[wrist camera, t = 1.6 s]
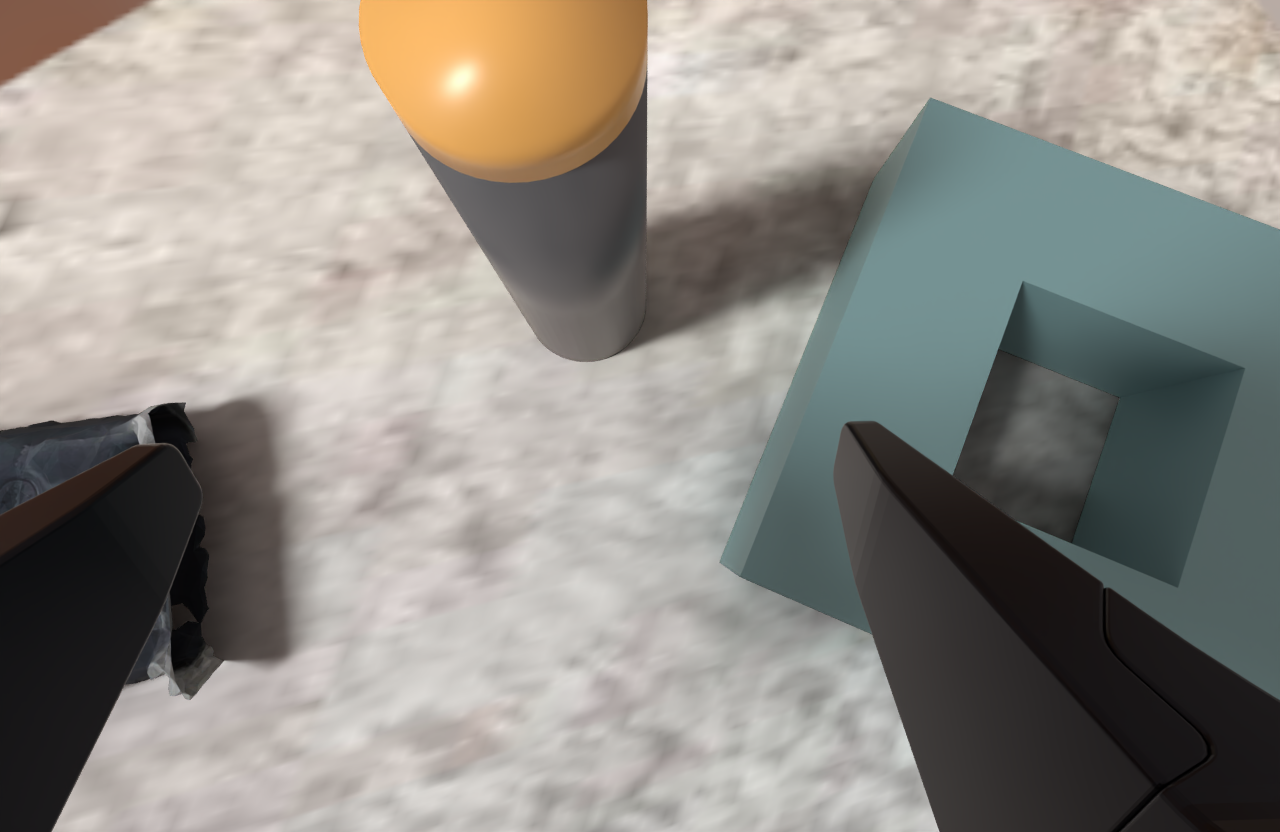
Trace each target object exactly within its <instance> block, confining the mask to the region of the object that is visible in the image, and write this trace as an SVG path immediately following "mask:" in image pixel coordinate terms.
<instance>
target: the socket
mask: <svg viewBox="0 0 1280 832" xmlns="http://www.w3.org/2000/svg"><path fill="white" fill-rule="evenodd" d="M998 349H1000V350H1002V351H1005V352H1007V353H1010V354H1012V355H1015V356H1017V357H1020V358H1022V359H1025V360H1027V361H1030V362H1032V363H1035V364H1037V365H1040V366H1042V367H1045V368H1047V369H1050V370H1052V371H1055V372H1057V373H1060V374H1062V375H1065V376H1067V377H1070V378H1072V379H1075V380H1077V381H1080V382H1082V383H1085V384H1087V385H1090V386H1092V387H1095V388H1097V389H1100V390H1102V391H1105V392H1107V393H1110V394H1112V395H1115V396H1117V397H1120V399H1119V402H1118V405H1117V408H1116V411H1115V414H1114V417H1113V420H1112V423H1111V426H1110V429H1109V432H1108V435H1107V438H1106V441H1105V444H1104V447H1103V450H1102V453H1101V456H1100V459H1099V462H1098V465H1097V468H1096V471H1095V474H1094V477H1093V480H1092V483H1091V486H1090V489H1089V492H1088V496H1087V499H1086V502H1085V505H1084V508H1083V511H1082V514H1081V517H1080V520H1079V523H1078V526H1077V529H1076V532H1075V535H1074V538H1073V541H1072V543H1069V542H1067V541H1064V540H1062V539H1060V538H1057V537H1055V536H1052V535H1050V534H1048V533H1045V532H1043V531H1040V530H1038V529H1036V528H1033V527H1031V526H1028V525H1026V524H1024V523H1021V522H1019V521H1017V522H1019V523H1020V524H1022V525H1023V526H1024V527H1026V528H1027V529H1029V530H1030V531H1031V532H1033V533H1034V534H1036V535H1037V536H1038V537H1040V538H1041V539H1043V540H1044V541H1045V542H1047V543H1048V544H1050V545H1051V546H1052V547H1054V548H1055V549H1057V550H1058V551H1059V552H1061V553H1062V554H1064V555H1065V556H1066V557H1068V558H1069V559H1071V560H1072V561H1073V562H1075V563H1076V564H1078V565H1079V566H1080V567H1082V568H1083V569H1085V570H1086V571H1088V572H1089V573H1090V574H1092V575H1093V576H1095V577H1096V578H1097V579H1099V580H1100V581H1101V582H1102V583H1103V585H1104V588H1106V587H1110V588H1112V589H1113V590H1115V591H1116V592H1117V593H1119V594H1120V595H1122V596H1123V597H1124V598H1126V599H1127V600H1129V601H1130V602H1131V603H1133V604H1134V605H1136V606H1137V607H1138V608H1140V609H1141V610H1143V611H1144V612H1146V613H1147V614H1149V615H1150V616H1151V617H1153V618H1154V619H1156V620H1157V621H1159V622H1160V623H1162V624H1163V625H1165V626H1166V627H1167V628H1169V629H1170V630H1172V631H1173V632H1175V633H1176V634H1178V635H1179V636H1181V637H1182V638H1183V639H1185V640H1186V641H1188V642H1189V643H1191V644H1192V645H1194V646H1195V647H1197V648H1198V649H1200V650H1202V651H1203V652H1205V653H1206V654H1208V655H1209V656H1211V657H1213V658H1214V659H1216V660H1217V661H1219V662H1220V663H1222V664H1223V665H1225V666H1227V667H1228V668H1230V669H1231V670H1233V671H1234V672H1236V673H1237V674H1239V675H1241V676H1242V677H1244V678H1245V679H1247V680H1248V681H1250V682H1251V683H1253V684H1255V685H1256V686H1258V687H1260V688H1261V689H1263V690H1264V691H1266V692H1268V693H1269V694H1271V695H1272V696H1274V697H1276V698H1277V699H1279V700H1280V230H1279V229H1277V228H1274V227H1271V226H1269V225H1266V224H1263V223H1261V222H1258V221H1256V220H1253V219H1250V218H1248V217H1245V216H1242V215H1240V214H1237V213H1234V212H1232V211H1229V210H1226V209H1224V208H1221V207H1219V206H1216V205H1213V204H1211V203H1208V202H1205V201H1203V200H1200V199H1197V198H1195V197H1192V196H1189V195H1187V194H1184V193H1181V192H1179V191H1176V190H1174V189H1171V188H1168V187H1166V186H1163V185H1160V184H1158V183H1155V182H1152V181H1150V180H1147V179H1144V178H1142V177H1139V176H1136V175H1134V174H1131V173H1129V172H1126V171H1123V170H1121V169H1118V168H1115V167H1113V166H1110V165H1107V164H1105V163H1102V162H1099V161H1097V160H1094V159H1092V158H1089V157H1086V156H1084V155H1081V154H1078V153H1076V152H1073V151H1070V150H1068V149H1065V148H1062V147H1060V146H1057V145H1054V144H1052V143H1049V142H1047V141H1044V140H1041V139H1039V138H1036V137H1033V136H1031V135H1028V134H1025V133H1023V132H1020V131H1017V130H1015V129H1012V128H1009V127H1007V126H1004V125H1002V124H999V123H996V122H994V121H991V120H988V119H986V118H983V117H980V116H978V115H975V114H972V113H970V112H967V111H965V110H962V109H959V108H957V107H954V106H951V105H949V104H946V103H943V102H941V101H938V100H935V99H933V98H930V99H929V100H928V101H927V103H926V104H925V106H924V107H923V109H922V110H921V112H920V113H919V114H918V116H917V117H916V119H915V120H914V122H913V123H912V125H911V126H910V127H909V129H908V130H907V132H906V133H905V135H904V136H903V138H902V139H901V140H900V142H899V143H898V145H897V146H896V148H895V149H894V151H893V152H892V153H891V155H890V156H889V158H888V159H887V161H886V162H885V164H884V165H883V166H882V168H881V169H880V171H879V172H878V174H877V175H876V177H875V178H874V180H873V182H872V185H871V187H870V190H869V192H868V195H867V197H866V199H865V202H864V204H863V207H862V209H861V212H860V214H859V217H858V219H857V222H856V224H855V227H854V229H853V232H852V234H851V237H850V239H849V242H848V244H847V247H846V249H845V252H844V254H843V257H842V259H841V262H840V264H839V267H838V269H837V272H836V274H835V277H834V279H833V281H832V284H831V286H830V289H829V291H828V294H827V296H826V299H825V301H824V304H823V306H822V309H821V311H820V314H819V316H818V319H817V321H816V324H815V326H814V329H813V331H812V334H811V336H810V339H809V341H808V344H807V346H806V349H805V351H804V354H803V356H802V359H801V361H800V363H799V366H798V368H797V371H796V373H795V376H794V378H793V381H792V383H791V386H790V388H789V391H788V393H787V396H786V398H785V401H784V403H783V406H782V408H781V411H780V413H779V416H778V418H777V421H776V423H775V426H774V428H773V431H772V433H771V436H770V438H769V441H768V443H767V445H766V448H765V450H764V453H763V455H762V458H761V460H760V463H759V465H758V468H757V470H756V473H755V475H754V478H753V480H752V483H751V485H750V488H749V490H748V493H747V495H746V498H745V500H744V503H743V505H742V508H741V510H740V513H739V515H738V518H737V520H736V523H735V525H734V527H733V530H732V532H731V535H730V537H729V540H728V542H727V545H726V547H725V550H724V552H723V555H722V557H721V560H720V563H721V564H723V565H724V566H725V567H727V568H728V569H730V570H731V571H732V572H734V573H735V574H737V575H738V576H739V577H741V578H744V579H746V580H748V581H750V582H753V583H755V584H757V585H760V586H762V587H764V588H767V589H769V590H771V591H773V592H776V593H778V594H780V595H783V596H785V597H787V598H790V599H792V600H794V601H796V602H799V603H801V604H803V605H806V606H808V607H810V608H813V609H815V610H817V611H819V612H822V613H824V614H826V615H829V616H831V617H833V618H836V619H838V620H840V621H842V622H845V623H847V624H849V625H852V626H854V627H856V628H859V629H861V630H863V631H865V632H868V633H870V634H872V632H871V630H870V627H869V624H868V621H867V618H866V615H865V612H864V609H863V606H862V603H861V600H860V597H859V594H858V591H857V587H856V584H855V581H854V576H853V572H852V568H851V563H850V558H849V554H848V549H847V544H846V539H845V535H844V530H843V525H842V520H841V516H840V511H839V506H838V501H837V496H836V492H835V487H834V480H833V469H834V463H835V458H836V453H837V448H838V443H839V438H840V433H841V429H842V427H843V425H844V424H845V423H847V422H849V421H876V422H878V423H880V424H881V425H883V426H884V427H885V428H887V429H888V430H890V431H891V432H892V433H894V434H895V435H897V436H898V437H899V438H901V439H902V440H904V441H905V442H907V443H908V444H909V445H911V446H912V447H914V448H915V449H916V450H918V451H919V452H921V453H922V454H923V455H925V456H926V457H928V458H929V459H930V460H932V461H933V462H935V463H936V464H937V465H939V466H940V467H942V468H943V469H944V470H946V471H947V472H949V473H950V474H951V475H953V473H954V470H955V467H956V465H957V462H958V459H959V456H960V454H961V451H962V448H963V445H964V442H965V440H966V437H967V434H968V431H969V429H970V426H971V423H972V420H973V417H974V415H975V412H976V409H977V406H978V404H979V401H980V398H981V395H982V393H983V390H984V387H985V384H986V381H987V379H988V376H989V373H990V370H991V368H992V365H993V362H994V359H995V357H996V354H997V351H998Z"/></svg>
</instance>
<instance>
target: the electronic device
mask: <svg viewBox="0 0 1280 832" xmlns="http://www.w3.org/2000/svg"><path fill="white" fill-rule="evenodd" d="M185 404H186V403H167V404H161V405H156V406H151V407H149V408H147V409H146V410H144V411H143V412H141V413H140V414H133V415H128V416H118V415H117V416H110V417H105V418H92V419H86V420H82V421H76V422H67V423H59V422H56V421H48V422H43V423H38V424H33V425H30V426H28V427H20V428H15V429H9V430H1V431H0V515H1V514H3V513H5V512H7V511H8V510H10V509H12V508H14V507H16V506H18V505H20V504H22V503H24V502H26V501H28V500H30V499H32V498H34V497H36V496H38V495H40V494H42V493H43V492H45V491H47V490H49V489H51V488H53V487H55V486H57V485H59V484H61V483H63V482H65V481H67V480H69V479H71V478H73V477H75V476H77V475H78V474H80V473H82V472H84V471H86V470H88V469H90V468H92V467H94V466H96V465H98V464H100V463H102V462H104V461H106V460H108V459H110V458H112V457H113V456H115V455H117V454H119V453H121V452H123V451H125V450H127V449H129V448H131V447H133V446H135V445H139V444H156V443H167V444H171V445H173V446H175V447H176V448H177V449H178V450H179V451H180V452H181V454H182V456H183V457H184V459H185V461H186V462H187V464H188V466H189V467H190V469H191V462H192V460H193V459H192V457H191V456H190V455H189V451H188V448H187V445H186V444H187V443H188V442H196V441H197V438H196V435H195V432H194V428H193V426H192V425H191V423H190V421H189V420H188V418H187V416H186V414H185V413H184V408H185ZM204 535H205V523H204V518H203V517H202V516H201V515H199V514H198V517H197V519H196V522H195V525H194V527H193V530H192V533H191V535H190V538H189V541H188V544H187V546H186V549H185V552H184V554H183V557H182V560H181V562H180V565H179V568H178V570H177V573H176V576H175V579H174V581H173V584H172V587H171V589H170V592H169V594H168V597H167V599H166V602H165V604H164V606H163V608H162V610H161V613H160V615H159V617H158V619H157V621H156V623H155V625H154V627H153V629H152V631H151V633H150V635H149V637H148V639H147V641H146V643H145V645H144V647H143V649H142V651H141V653H140V655H139V657H138V659H137V661H136V663H135V665H134V667H133V669H132V671H131V673H130V675H129V677H128V679H127V681H126V683H125V684H134V683H138V682H141V681H144V680H147V679H151V680H152V679H154V678H156V677H159V676H161V675H163V674H166V675H167V676H168V677H169V678H170V680H169V688H168V689H169V694H170V696H177V695H180V694H183V696H184V697H185V699H188V700H191V699H192V698H193V696H194V695H195V694H196V693H197V692H198V691H199V689H200V688H201V687H202V685H203V684H204V683H205V682H206V681H207V680H208V679H209V678H210V676H211V675H212V673H213V672H214V671H215V670H216V669H217V668H218V667H219V666H220V665H221V664H222V662H223V660H221V659H219V658H217V657H215V656H214V655H213V653H214V651H213V649H212V646H208V645H207V644H206V643H205V641H204V639H203V638H202V636H201V622H202V620H203V618H204V615H205V613H206V612H207V611H208V610H209V607H208V605H207V600H206V595H205V590H204V587H205V584H206V581H207V578H208V577H207V566H208V561H209V554H208V552H207V550H206V549H204V548H201V547H199V545H200V542H201V540H202V538H203V537H204ZM176 604H184V605H185V606H186V607H188V609H189V610H190V611H191V613H192V614H193V616H194V617H195V618H196V620H197V621H198V622H199V623H197V622H190V621H188V622H186V623H185V624H184V625H182V626H181V627H179V628H178V629H177V630H172V627H173V626H172V614H171V607H172V606H173V605H176Z"/></svg>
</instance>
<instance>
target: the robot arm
mask: <svg viewBox="0 0 1280 832" xmlns="http://www.w3.org/2000/svg"><path fill="white" fill-rule="evenodd" d="M833 480H834V487H835V492H836V496H837V501H838V506H839V511H840V516H841V520H842V525H843V530H844V535H845V539H846V544H847V549H848V554H849V558H850V563H851V568H852V572H853V576H854V581H855V584H856V587H857V591H858V594H859V597H860V600H861V603H862V606H863V609H864V612H865V615H866V618H867V621H868V624H869V627H870V630H871V632H872V635H873V638H874V641H875V644H876V647H877V650H878V653H879V656H880V659H881V662H882V665H883V668H884V671H885V673H886V676H887V679H888V682H889V685H890V688H891V691H892V694H893V697H894V700H895V703H896V706H897V709H898V712H899V714H900V717H901V720H902V723H903V726H904V729H905V732H906V735H907V738H908V741H909V744H910V747H911V750H912V753H913V756H914V758H915V761H916V764H917V767H918V770H919V773H920V776H921V779H922V782H923V785H924V788H925V791H926V794H927V797H928V799H929V802H930V805H931V808H932V811H933V814H934V817H935V820H936V823H937V826H938V829H939V832H1280V700H1279V699H1277V698H1276V697H1274V696H1272V695H1271V694H1269V693H1268V692H1266V691H1264V690H1263V689H1261V688H1260V687H1258V686H1256V685H1255V684H1253V683H1251V682H1250V681H1248V680H1247V679H1245V678H1244V677H1242V676H1241V675H1239V674H1237V673H1236V672H1234V671H1233V670H1231V669H1230V668H1228V667H1227V666H1225V665H1223V664H1222V663H1220V662H1219V661H1217V660H1216V659H1214V658H1213V657H1211V656H1209V655H1208V654H1206V653H1205V652H1203V651H1202V650H1200V649H1198V648H1197V647H1195V646H1194V645H1192V644H1191V643H1189V642H1188V641H1186V640H1185V639H1183V638H1182V637H1181V636H1179V635H1178V634H1176V633H1175V632H1173V631H1172V630H1170V629H1169V628H1167V627H1166V626H1165V625H1163V624H1162V623H1160V622H1159V621H1157V620H1156V619H1154V618H1153V617H1151V616H1150V615H1149V614H1147V613H1146V612H1144V611H1143V610H1141V609H1140V608H1138V607H1137V606H1136V605H1134V604H1133V603H1131V602H1130V601H1129V600H1127V599H1126V598H1124V597H1123V596H1122V595H1120V594H1119V593H1117V592H1116V591H1115V590H1113V589H1112V588H1110V587H1106V588H1104V585H1103V583H1102V582H1101V581H1100V580H1099V579H1097V578H1096V577H1095V576H1093V575H1092V574H1090V573H1089V572H1088V571H1086V570H1085V569H1083V568H1082V567H1080V566H1079V565H1078V564H1076V563H1075V562H1073V561H1072V560H1071V559H1069V558H1068V557H1066V556H1065V555H1064V554H1062V553H1061V552H1059V551H1058V550H1057V549H1055V548H1054V547H1052V546H1051V545H1050V544H1048V543H1047V542H1045V541H1044V540H1043V539H1041V538H1040V537H1038V536H1037V535H1036V534H1034V533H1033V532H1031V531H1030V530H1029V529H1027V528H1026V527H1024V526H1023V525H1022V524H1020V523H1019V522H1017V521H1016V520H1015V519H1013V518H1012V517H1010V516H1009V515H1008V514H1006V513H1005V512H1003V511H1002V510H1001V509H999V508H998V507H996V506H995V505H994V504H992V503H991V502H989V501H988V500H986V499H985V498H984V497H982V496H981V495H979V494H978V493H977V492H975V491H974V490H972V489H971V488H970V487H968V486H967V485H965V484H964V483H963V482H961V481H960V480H958V479H957V478H956V477H954V476H953V475H951V474H950V473H949V472H947V471H946V470H944V469H943V468H942V467H940V466H939V465H937V464H936V463H935V462H933V461H932V460H930V459H929V458H928V457H926V456H925V455H923V454H922V453H921V452H919V451H918V450H916V449H915V448H914V447H912V446H911V445H909V444H908V443H907V442H905V441H904V440H902V439H901V438H899V437H898V436H897V435H895V434H894V433H892V432H891V431H890V430H888V429H887V428H885V427H884V426H883V425H881V424H880V423H878V422H876V421H849V422H847V423H845V424H844V425H843V427H842V429H841V433H840V438H839V443H838V448H837V453H836V458H835V463H834V469H833ZM202 500H203V494H202V489H201V486H200V484H199V483H198V481H197V479H196V478H195V476H194V474H193V473H192V471H191V469H190V467H189V466H188V464H187V462H186V461H185V459H184V457H183V456H182V454H181V452H180V451H179V450H178V449H177V448H176V447H175V446H173V445H171V444H167V443H156V444H139V445H135V446H133V447H131V448H129V449H127V450H125V451H123V452H121V453H119V454H117V455H115V456H113V457H112V458H110V459H108V460H106V461H104V462H102V463H100V464H98V465H96V466H94V467H92V468H90V469H88V470H86V471H84V472H82V473H80V474H78V475H77V476H75V477H73V478H71V479H69V480H67V481H65V482H63V483H61V484H59V485H57V486H55V487H53V488H51V489H49V490H47V491H45V492H43V493H42V494H40V495H38V496H36V497H34V498H32V499H30V500H28V501H26V502H24V503H22V504H20V505H18V506H16V507H14V508H12V509H10V510H8V511H7V512H5V513H3V514H1V515H0V832H52V830H53V828H54V826H55V824H56V822H57V820H58V818H59V816H60V814H61V812H62V810H63V808H64V806H65V804H66V802H67V800H68V798H69V796H70V794H71V792H72V790H73V788H74V786H75V784H76V782H77V780H78V778H79V776H80V774H81V772H82V770H83V768H84V766H85V764H86V762H87V760H88V758H89V756H90V754H91V752H92V750H93V748H94V746H95V744H96V742H97V740H98V738H99V736H100V734H101V732H102V730H103V728H104V726H105V724H106V722H107V720H108V718H109V716H110V714H111V712H112V710H113V708H114V706H115V704H116V702H117V700H118V698H119V696H120V694H121V691H122V689H123V687H124V685H125V683H126V681H127V679H128V677H129V675H130V673H131V671H132V669H133V667H134V665H135V663H136V661H137V659H138V657H139V655H140V653H141V651H142V649H143V647H144V645H145V643H146V641H147V639H148V637H149V635H150V633H151V631H152V629H153V627H154V625H155V623H156V621H157V619H158V617H159V615H160V613H161V610H162V608H163V606H164V604H165V602H166V599H167V597H168V594H169V592H170V589H171V587H172V584H173V581H174V579H175V576H176V573H177V570H178V568H179V565H180V562H181V560H182V557H183V554H184V552H185V549H186V546H187V544H188V541H189V538H190V535H191V533H192V530H193V527H194V525H195V522H196V519H197V517H198V514H199V511H200V508H201V505H202Z"/></svg>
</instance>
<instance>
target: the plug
mask: <svg viewBox="0 0 1280 832" xmlns="http://www.w3.org/2000/svg"><path fill="white" fill-rule="evenodd" d="M647 29H648V13H647V0H361V2H360V7H359V31H360V39H361V45H362V48H363V52H364V56H365V59H366V62H367V64H368V66H369V68H370V71H371V73H372V75H373V77H374V78H375V80H376V82H377V83H378V85H379V86H380V88H381V90H382V91H383V93H384V94H385V96H386V98H387V99H388V101H389V102H390V104H391V106H392V107H393V109H394V110H395V112H396V114H397V115H398V117H399V118H400V120H401V121H402V123H403V125H404V126H405V128H406V129H407V131H408V133H409V134H410V136H411V137H412V139H413V141H414V142H415V144H416V145H417V147H418V149H419V150H420V152H421V153H422V155H423V157H424V158H425V160H426V161H427V163H428V164H429V166H430V168H431V169H432V171H433V172H434V174H435V176H436V177H437V179H438V180H439V182H440V184H441V185H442V187H443V188H444V190H445V192H446V193H447V195H448V196H449V198H450V200H451V201H452V203H453V204H454V206H455V207H456V209H457V211H458V212H459V214H460V215H461V217H462V219H463V220H464V222H465V223H466V225H467V227H468V228H469V230H470V231H471V233H472V235H473V236H474V238H475V239H476V241H477V242H478V244H479V246H480V247H481V249H482V250H483V252H484V254H485V255H486V257H487V258H488V260H489V262H490V263H491V265H492V266H493V268H494V270H495V271H496V273H497V274H498V276H499V278H500V279H501V281H502V282H503V284H504V285H505V287H506V289H507V290H508V292H509V293H510V295H511V297H512V298H513V300H514V301H515V303H516V305H517V306H518V308H519V309H520V311H521V313H522V314H523V316H524V317H525V319H526V321H527V322H528V324H529V325H530V327H531V328H532V330H533V332H534V333H535V335H536V336H537V338H538V339H539V340H540V342H541V343H542V344H543V345H544V346H545V347H546V348H548V349H549V350H550V351H552V352H553V353H555V354H557V355H559V356H560V357H563V358H566V359H569V360H573V361H580V362H592V361H598V360H602V359H606V358H608V357H611V356H613V355H615V354H616V353H618V352H620V351H621V350H623V349H624V348H625V347H626V346H627V345H628V344H629V343H630V342H631V341H632V340H633V339H634V337H635V336H636V335H637V333H638V331H639V330H640V328H641V325H642V323H643V320H644V316H645V310H646V214H647Z"/></svg>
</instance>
